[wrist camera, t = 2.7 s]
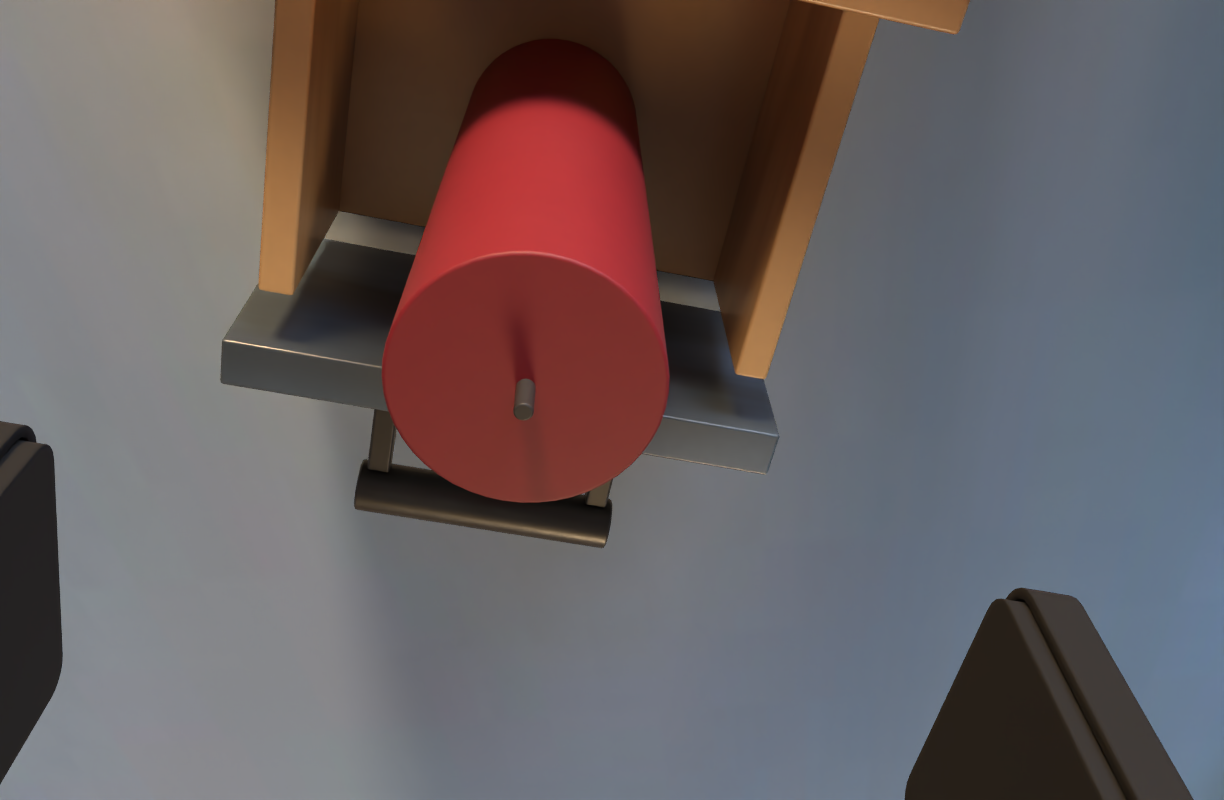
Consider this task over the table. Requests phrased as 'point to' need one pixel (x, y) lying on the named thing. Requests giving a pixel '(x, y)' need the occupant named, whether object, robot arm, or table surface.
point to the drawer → (675, 186)
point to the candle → (534, 289)
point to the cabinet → (908, 11)
